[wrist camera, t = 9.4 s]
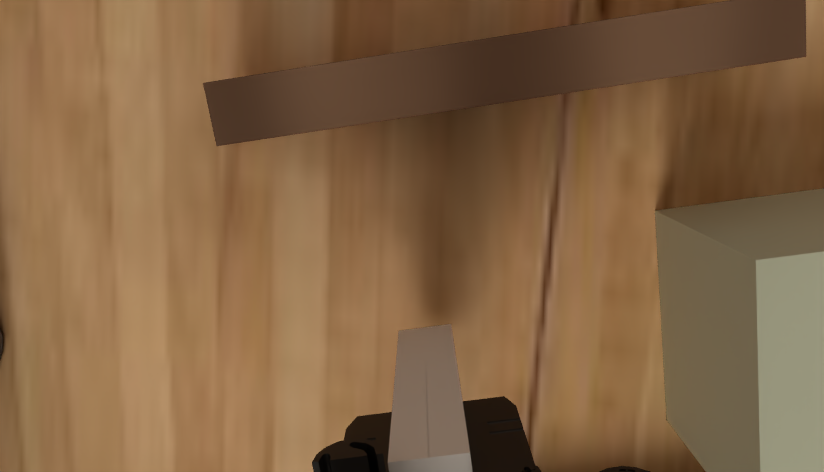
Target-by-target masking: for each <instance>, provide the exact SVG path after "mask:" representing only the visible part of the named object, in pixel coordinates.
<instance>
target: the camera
mask: <svg viewBox="0 0 824 472" xmlns="http://www.w3.org/2000/svg"><path fill="white" fill-rule="evenodd" d="M2 348H3V335H2V333H1V331H0V359H1V355H2Z"/></svg>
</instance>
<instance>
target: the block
mask: <svg viewBox="0 0 824 472" xmlns="http://www.w3.org/2000/svg"><path fill="white" fill-rule="evenodd" d="M655 222H656V240H657V258H658V276H659V294H660V312H661V330H662V348H663V366H664V384H665V402H666V420H667V421H668V423H669V424H670V425H671V427H672V428H673V429H674V431H675V432H676V433H677V435H678V436H679V437H680V438H681V440H682V441H683V442H684V444H685V445H686V446H687V448H688V449H689V450H690V452H691V453H692V454H693V456H694V457H695V458H696V460H697V461H698V462H699V464H700V465H701V466H702V467H703V469H704V470H705V471H706V472H824V188H822V189H815V190H807V191H800V192H792V193H784V194H777V195H769V196H762V197H754V198H746V199H739V200H731V201H724V202H716V203H709V204H701V205H693V206H686V207H678V208H671V209H663V210H656V211H655Z"/></svg>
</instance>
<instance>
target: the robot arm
mask: <svg viewBox="0 0 824 472" xmlns="http://www.w3.org/2000/svg"><path fill="white" fill-rule="evenodd" d="M312 465H313V470H314V472H541V470H540V469H539V468H538V466H536V465H535V464H534V461H533V457H532V454H531V451H530V448H529V445H528V442H527V439H526V435H525V432H524V430H523V426H522V423H521V420H520V417H519V413H518V410H517V407H516V405H514V404H513V403H512V402H511V401H509V400H508V399H507V398H505V397H504V396H503V397H495V398H487V399H479V400H471V401H462V394H461V387H460V380H459V374H458V367H457V360H456V353H455V346H454V339H453V333H452V326H451V324H446V325H438V326H431V327H423V328H415V329H408V330H400V331H399V332H398V345H397V357H396V369H395V381H394V393H393V405H392V412H389V413H381V414H373V415H365V416H357V417H356V418H355V420H354V421H353V422H352V423H351V424H350V425H349V426H348V427H347V429H346V433H345V437H344V441H339V442H336V443H334V444H332V445H330V446H327V447H326V448H324V449H323V450H322V451H320V452H319V453H318V454H317V455H316V456H315V458H314V460H313V461H312ZM600 472H649V471H646V470H643V469H640V468H637V467H626V466H619V467H612V468H607V469H604V470H602V471H600Z"/></svg>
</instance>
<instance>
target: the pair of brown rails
mask: <svg viewBox="0 0 824 472" xmlns="http://www.w3.org/2000/svg"><path fill="white" fill-rule="evenodd" d="M801 57H806V2H805V0H730V1H723V2H717V3H710V4H704V5H698V6H691V7H685V8H679V9H672V10H666V11H659V12H653V13H647V14H640V15H634V16H627V17H621V18H615V19H608V20H602V21H596V22H589V23H583V24H576V25H570V26H564V27H557V28H551V29H545V30H538V31H532V32H525V33H519V34H513V35H506V36H500V37H494V38H487V39H481V40H474V41H468V42H462V43H455V44H449V45H442V46H436V47H430V48H423V49H417V50H411V51H404V52H398V53H391V54H385V55H379V56H372V57H366V58H360V59H353V60H347V61H340V62H334V63H328V64H321V65H315V66H308V67H302V68H296V69H289V70H283V71H277V72H270V73H264V74H257V75H251V76H245V77H238V78H232V79H226V80H219V81H213V82H206V83H203V85H204V90H205V94H206V99H207V104H208V108H209V113H210V117H211V122H212V127H213V131H214V136H215V141H216V145H217V146H221V145H227V144H234V143H241V142H247V141H254V140H260V139H267V138H274V137H280V136H287V135H293V134H300V133H307V132H313V131H320V130H326V129H333V128H339V127H346V126H353V125H359V124H366V123H372V122H379V121H386V120H392V119H399V118H405V117H412V116H419V115H425V114H432V113H438V112H445V111H452V110H458V109H465V108H471V107H478V106H485V105H491V104H498V103H504V102H511V101H517V100H524V99H531V98H537V97H544V96H550V95H557V94H564V93H570V92H577V91H583V90H590V89H597V88H603V87H610V86H616V85H623V84H630V83H636V82H643V81H649V80H656V79H663V78H669V77H676V76H682V75H689V74H695V73H702V72H709V71H715V70H722V69H728V68H735V67H742V66H748V65H755V64H761V63H768V62H775V61H781V60H788V59H794V58H801Z"/></svg>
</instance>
